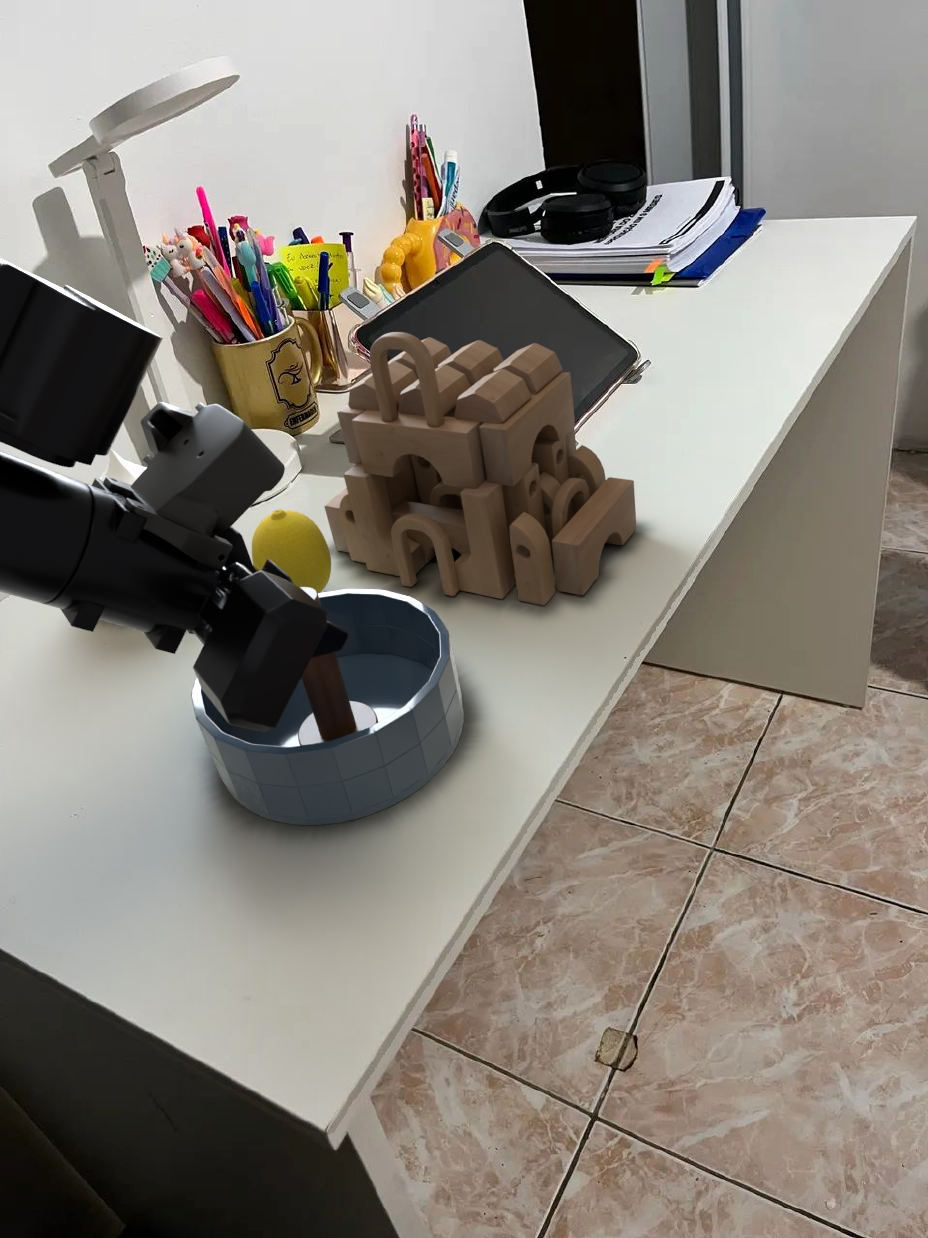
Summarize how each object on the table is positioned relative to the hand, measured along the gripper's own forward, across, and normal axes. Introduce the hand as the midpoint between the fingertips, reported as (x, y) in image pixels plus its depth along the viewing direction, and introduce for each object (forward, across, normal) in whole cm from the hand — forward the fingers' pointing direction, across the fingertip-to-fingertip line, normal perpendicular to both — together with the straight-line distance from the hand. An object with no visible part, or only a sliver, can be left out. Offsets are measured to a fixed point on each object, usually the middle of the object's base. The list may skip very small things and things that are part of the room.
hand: (333, 632), depth 53 cm
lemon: (+9, +16, +3) cm, 19 cm away
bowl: (+5, +2, +6) cm, 8 cm away
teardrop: (+4, +29, +8) cm, 30 cm away
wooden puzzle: (+19, +14, -7) cm, 24 cm away
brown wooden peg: (+4, 0, +6) cm, 7 cm away
